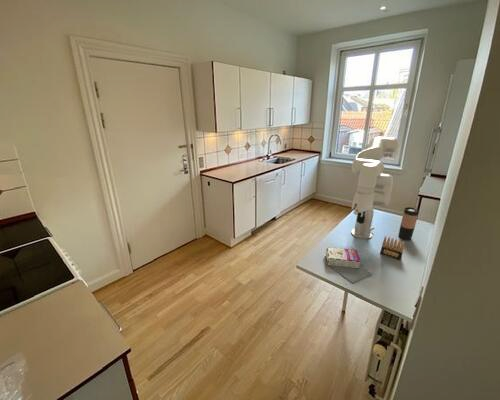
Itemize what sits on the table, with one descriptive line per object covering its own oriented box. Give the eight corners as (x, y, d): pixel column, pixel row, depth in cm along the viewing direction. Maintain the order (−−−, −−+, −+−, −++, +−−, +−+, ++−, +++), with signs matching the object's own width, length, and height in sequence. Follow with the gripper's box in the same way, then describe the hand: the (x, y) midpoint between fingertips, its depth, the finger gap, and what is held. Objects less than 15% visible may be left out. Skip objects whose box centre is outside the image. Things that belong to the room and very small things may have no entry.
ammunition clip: (401, 259, 136) (406, 240, 131) (400, 260, 134) (405, 242, 130) (380, 252, 142) (384, 234, 138) (379, 253, 141) (383, 236, 136)
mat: (344, 256, 139) (345, 255, 139) (372, 274, 124) (372, 273, 124) (326, 263, 133) (326, 262, 133) (352, 283, 118) (352, 282, 118)
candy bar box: (355, 256, 137) (325, 253, 141) (356, 249, 135) (326, 246, 139) (359, 269, 127) (327, 265, 131) (360, 261, 125) (328, 257, 129)
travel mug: (398, 239, 155) (405, 211, 147) (397, 233, 161) (403, 206, 154) (412, 241, 152) (420, 213, 145) (410, 235, 159) (417, 208, 151)
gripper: (369, 184, 122) (364, 216, 130) (348, 189, 116) (343, 223, 124) (383, 188, 116) (376, 222, 123) (361, 194, 110) (355, 229, 117)
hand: (360, 222), depth 123 cm, fingers closed
